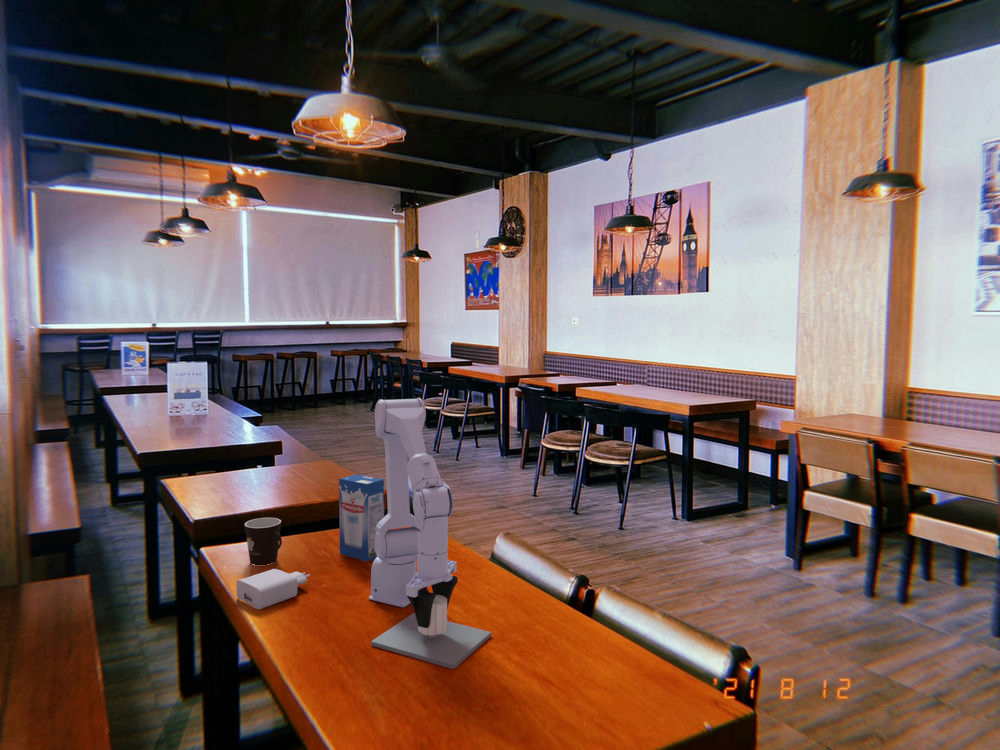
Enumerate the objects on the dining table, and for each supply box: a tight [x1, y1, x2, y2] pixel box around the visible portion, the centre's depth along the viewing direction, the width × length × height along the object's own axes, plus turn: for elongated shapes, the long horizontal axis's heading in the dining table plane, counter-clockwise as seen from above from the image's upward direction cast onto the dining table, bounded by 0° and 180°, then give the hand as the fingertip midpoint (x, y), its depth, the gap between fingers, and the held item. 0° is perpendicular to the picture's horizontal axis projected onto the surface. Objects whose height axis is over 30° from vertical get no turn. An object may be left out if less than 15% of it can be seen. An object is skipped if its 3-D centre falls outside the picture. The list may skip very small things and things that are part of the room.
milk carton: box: [338, 474, 385, 562], centre depth 171 cm, size 10×6×20 cm, turn 58°
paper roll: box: [418, 595, 448, 635], centre depth 125 cm, size 5×5×6 cm
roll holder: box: [370, 612, 492, 670], centre depth 125 cm, size 18×14×3 cm
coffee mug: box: [244, 517, 283, 566], centre depth 164 cm, size 12×9×10 cm
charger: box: [236, 568, 311, 611], centre depth 146 cm, size 5×9×15 cm
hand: (432, 620), depth 125 cm, fingers closed on paper roll, 5 cm apart
